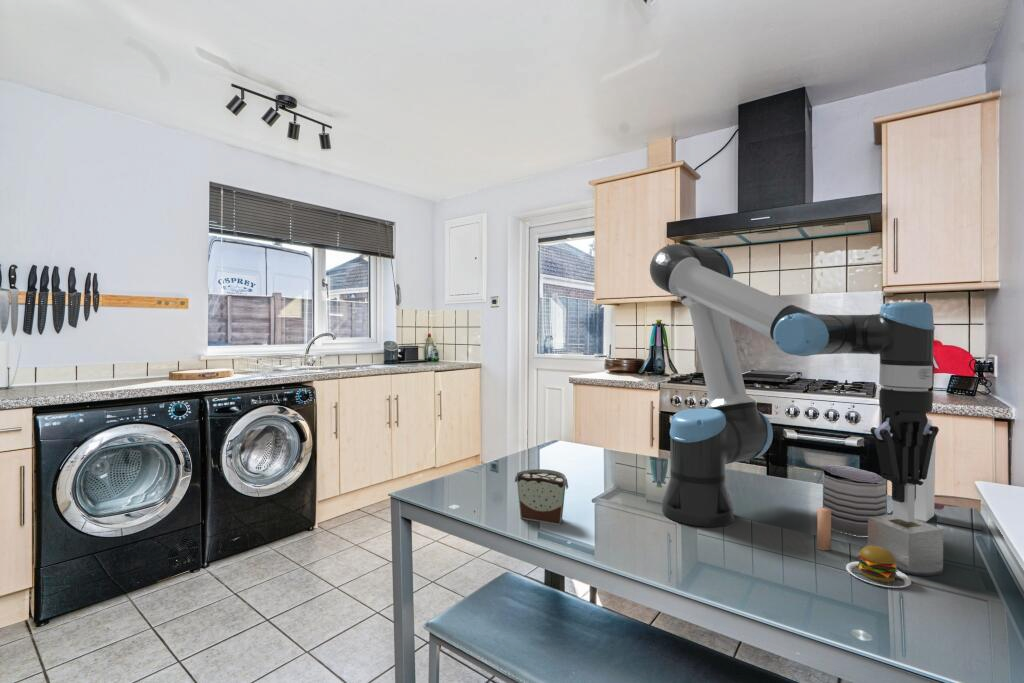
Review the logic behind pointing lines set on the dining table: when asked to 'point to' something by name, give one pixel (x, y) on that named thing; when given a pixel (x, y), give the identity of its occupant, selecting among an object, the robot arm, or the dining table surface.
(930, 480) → the milk
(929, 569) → the hub
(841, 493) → the can
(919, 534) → the collar
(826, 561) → the dining table surface
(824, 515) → the sausage
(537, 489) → the food container
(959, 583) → the dining table surface
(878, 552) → the hamburger
